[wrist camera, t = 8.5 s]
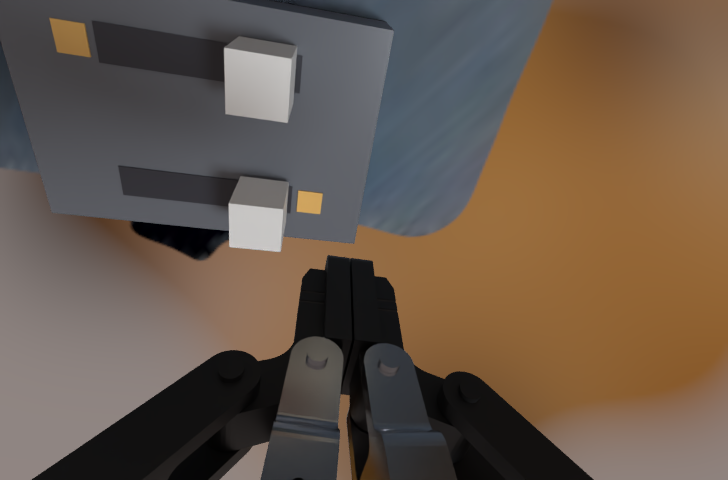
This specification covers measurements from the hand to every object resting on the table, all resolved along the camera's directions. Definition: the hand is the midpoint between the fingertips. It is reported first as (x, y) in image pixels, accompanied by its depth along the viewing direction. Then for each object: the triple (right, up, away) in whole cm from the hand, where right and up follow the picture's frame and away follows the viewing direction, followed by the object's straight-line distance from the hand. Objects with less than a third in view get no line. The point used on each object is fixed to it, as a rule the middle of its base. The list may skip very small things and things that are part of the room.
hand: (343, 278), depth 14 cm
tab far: (-6, +4, +13) cm, 15 cm away
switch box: (-9, +10, +14) cm, 19 cm away
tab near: (-5, +11, +8) cm, 14 cm away
